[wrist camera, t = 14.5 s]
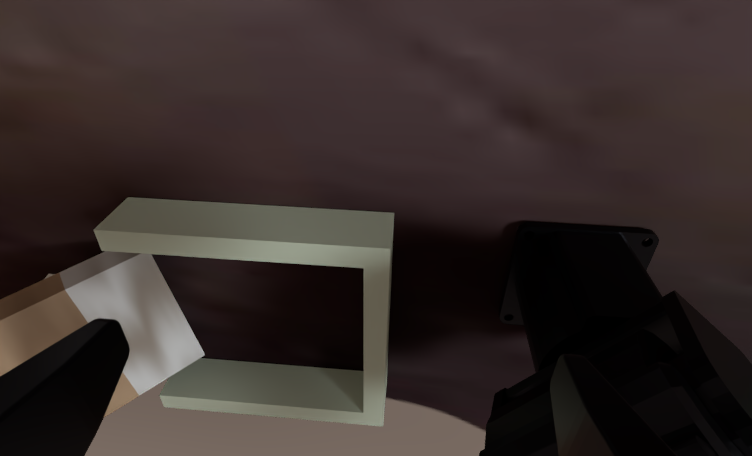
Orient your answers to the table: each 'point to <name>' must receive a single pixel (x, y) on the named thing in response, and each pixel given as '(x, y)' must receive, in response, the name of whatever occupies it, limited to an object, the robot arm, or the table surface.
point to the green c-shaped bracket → (282, 245)
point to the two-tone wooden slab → (109, 301)
